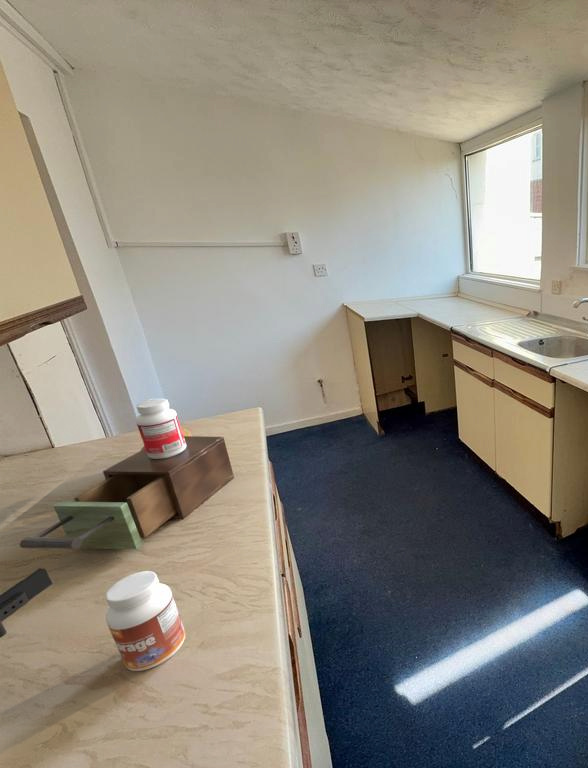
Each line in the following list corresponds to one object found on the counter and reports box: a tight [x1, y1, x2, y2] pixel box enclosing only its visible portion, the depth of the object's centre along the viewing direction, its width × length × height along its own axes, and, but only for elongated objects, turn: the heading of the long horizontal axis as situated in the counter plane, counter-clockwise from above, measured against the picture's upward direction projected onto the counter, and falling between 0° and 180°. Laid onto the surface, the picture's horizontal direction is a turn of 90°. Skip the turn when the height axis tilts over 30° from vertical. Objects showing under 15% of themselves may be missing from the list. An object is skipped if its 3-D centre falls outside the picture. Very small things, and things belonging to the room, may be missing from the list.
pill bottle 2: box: [105, 570, 186, 672], centre depth 51 cm, size 6×6×11 cm
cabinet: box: [102, 435, 235, 520], centre depth 83 cm, size 15×13×11 cm
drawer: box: [19, 475, 178, 550], centre depth 70 cm, size 20×11×9 cm, turn 179°
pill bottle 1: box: [135, 397, 186, 459], centre depth 79 cm, size 6×6×11 cm
